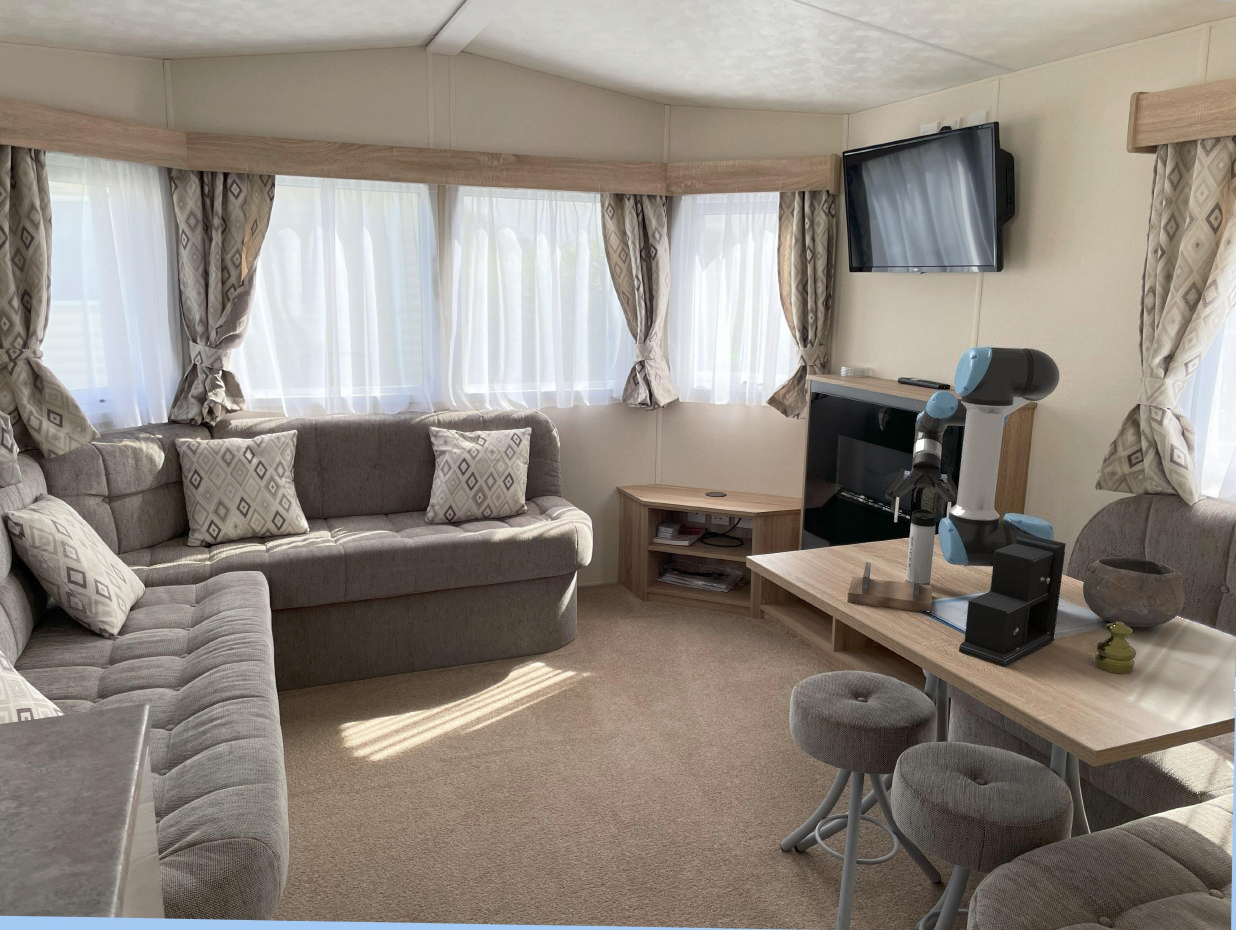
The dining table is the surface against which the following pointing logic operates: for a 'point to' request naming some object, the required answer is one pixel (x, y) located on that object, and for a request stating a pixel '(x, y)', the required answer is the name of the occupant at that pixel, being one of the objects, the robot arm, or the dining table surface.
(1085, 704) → the dining table surface
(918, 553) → the travel mug
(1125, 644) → the green coiled snake figurine
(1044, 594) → the black mini cabinet
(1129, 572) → the clay pot
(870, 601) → the wooden rack
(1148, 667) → the dining table surface
